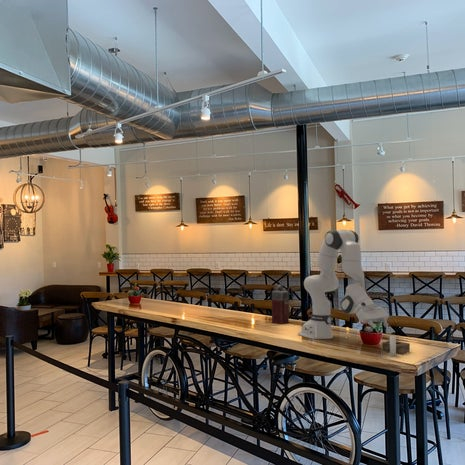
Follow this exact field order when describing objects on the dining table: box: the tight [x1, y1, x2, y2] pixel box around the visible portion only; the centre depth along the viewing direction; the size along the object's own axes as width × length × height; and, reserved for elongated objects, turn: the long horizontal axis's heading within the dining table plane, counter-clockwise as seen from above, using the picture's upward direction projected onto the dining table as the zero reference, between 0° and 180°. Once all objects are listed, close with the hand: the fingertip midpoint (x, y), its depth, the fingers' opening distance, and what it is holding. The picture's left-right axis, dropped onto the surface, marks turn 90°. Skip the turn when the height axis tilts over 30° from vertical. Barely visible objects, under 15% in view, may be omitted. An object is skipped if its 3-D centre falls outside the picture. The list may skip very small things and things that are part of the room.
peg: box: [389, 335, 397, 357], centre depth 236 cm, size 3×3×10 cm
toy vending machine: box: [271, 284, 290, 325], centre depth 329 cm, size 9×11×28 cm
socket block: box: [381, 340, 411, 356], centre depth 245 cm, size 11×10×4 cm
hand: (381, 326), depth 243 cm, fingers open, 8 cm apart
